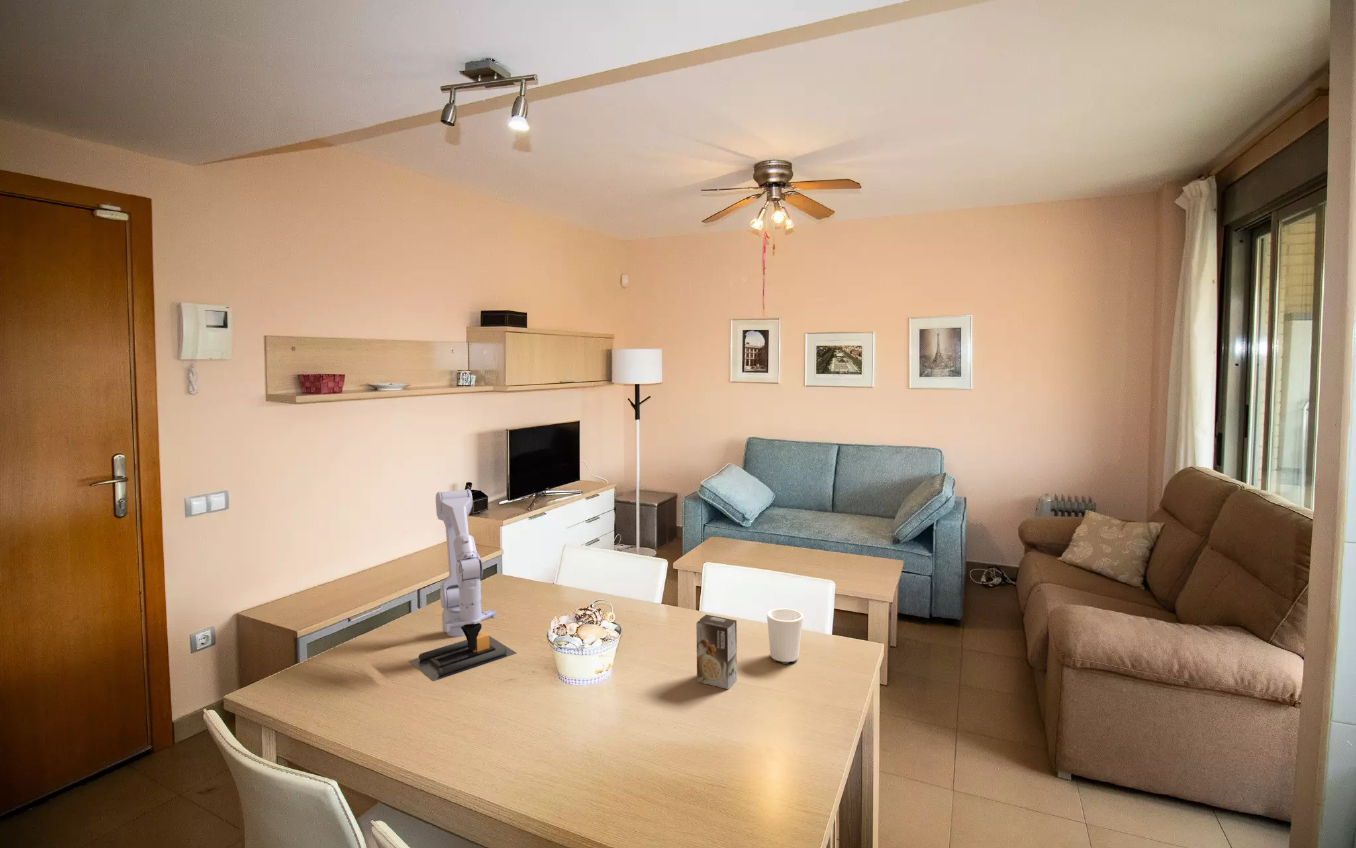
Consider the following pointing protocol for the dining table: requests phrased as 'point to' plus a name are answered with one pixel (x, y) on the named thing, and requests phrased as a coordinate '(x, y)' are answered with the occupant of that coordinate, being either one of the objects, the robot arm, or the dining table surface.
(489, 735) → the dining table surface
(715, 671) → the coffee box
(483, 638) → the orange rectangular box
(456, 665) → the grey rails and frame
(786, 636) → the cup
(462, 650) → the plate
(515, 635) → the dining table surface
